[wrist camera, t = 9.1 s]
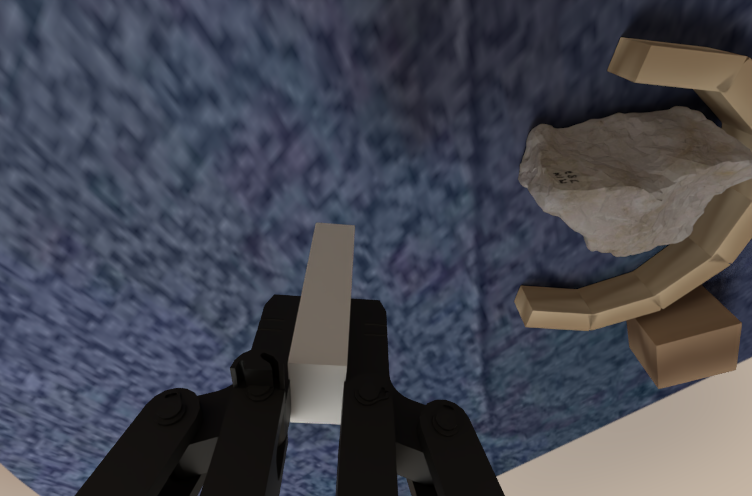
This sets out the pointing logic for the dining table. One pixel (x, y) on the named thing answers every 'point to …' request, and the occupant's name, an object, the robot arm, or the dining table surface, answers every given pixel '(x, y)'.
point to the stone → (632, 176)
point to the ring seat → (711, 230)
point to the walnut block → (686, 339)
